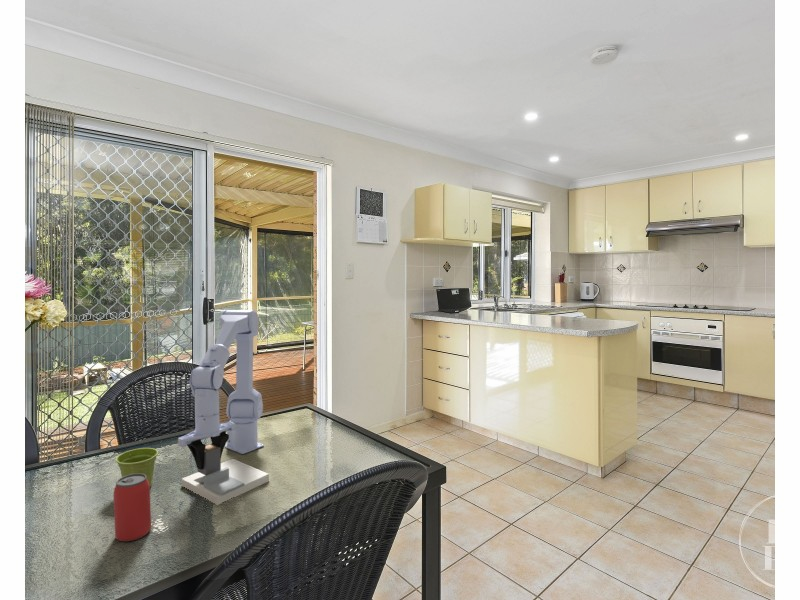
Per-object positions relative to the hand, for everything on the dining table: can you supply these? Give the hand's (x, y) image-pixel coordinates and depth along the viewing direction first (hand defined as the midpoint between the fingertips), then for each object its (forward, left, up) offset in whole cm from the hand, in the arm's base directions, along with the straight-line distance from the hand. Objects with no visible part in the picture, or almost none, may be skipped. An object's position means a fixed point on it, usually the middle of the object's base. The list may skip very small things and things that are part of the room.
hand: (208, 465), depth 115 cm
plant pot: (-14, -11, -6) cm, 19 cm away
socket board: (+2, +4, -6) cm, 7 cm away
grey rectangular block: (0, 0, -2) cm, 2 cm away
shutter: (+7, 0, -4) cm, 8 cm away
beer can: (+6, -21, -6) cm, 23 cm away
